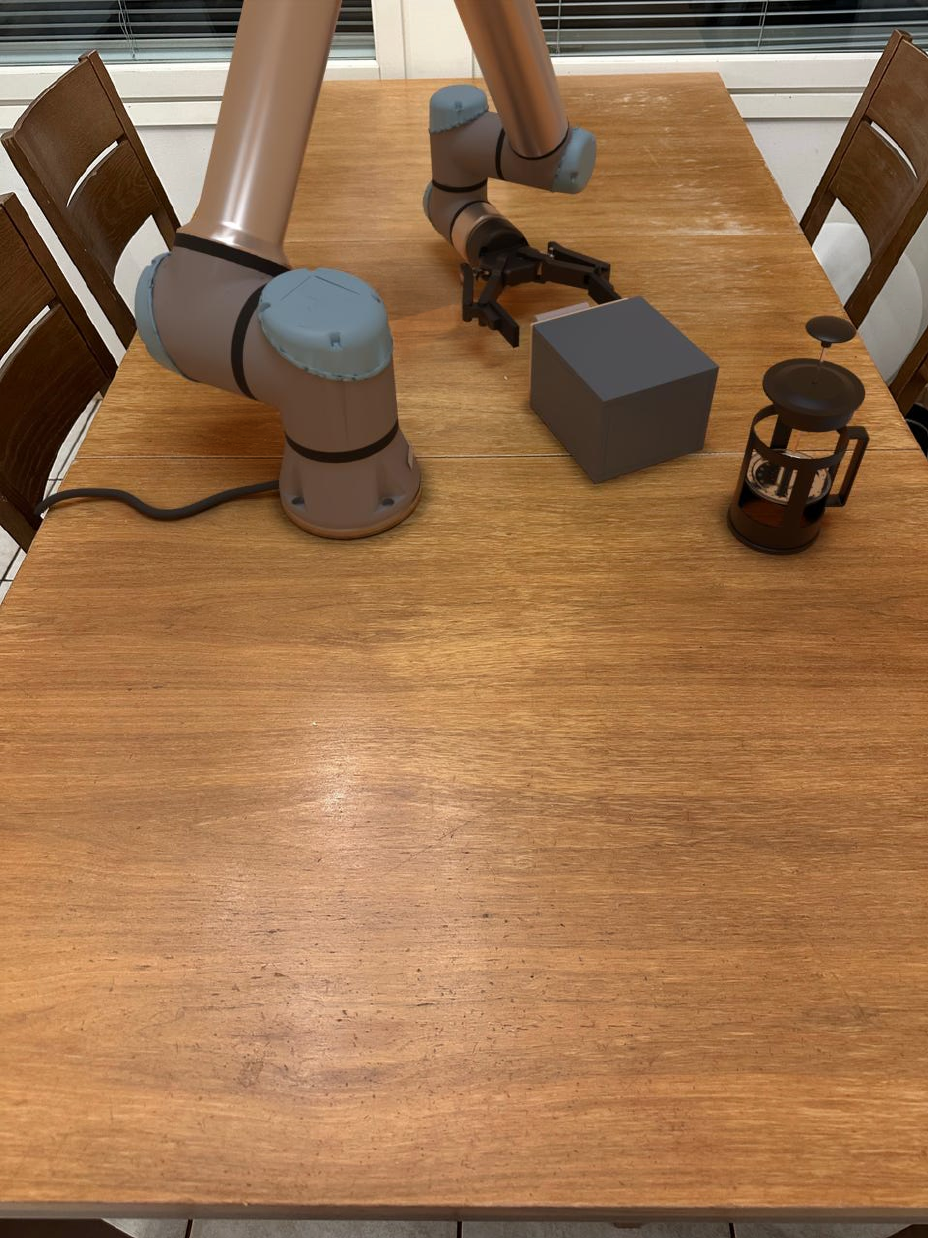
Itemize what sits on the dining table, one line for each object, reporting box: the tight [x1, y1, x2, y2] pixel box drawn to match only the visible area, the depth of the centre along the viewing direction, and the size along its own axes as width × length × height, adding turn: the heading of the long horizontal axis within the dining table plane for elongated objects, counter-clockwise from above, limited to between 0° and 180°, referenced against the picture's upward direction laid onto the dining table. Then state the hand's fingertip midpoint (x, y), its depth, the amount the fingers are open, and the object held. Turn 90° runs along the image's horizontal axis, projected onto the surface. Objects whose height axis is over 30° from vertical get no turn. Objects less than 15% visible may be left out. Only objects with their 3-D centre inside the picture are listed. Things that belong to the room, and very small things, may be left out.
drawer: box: [527, 297, 629, 392], centre depth 108 cm, size 19×13×9 cm, turn 25°
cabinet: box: [529, 295, 720, 485], centre depth 105 cm, size 16×14×11 cm
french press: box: [726, 315, 870, 556], centre depth 89 cm, size 12×9×23 cm
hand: (568, 322), depth 111 cm, fingers open, 13 cm apart
